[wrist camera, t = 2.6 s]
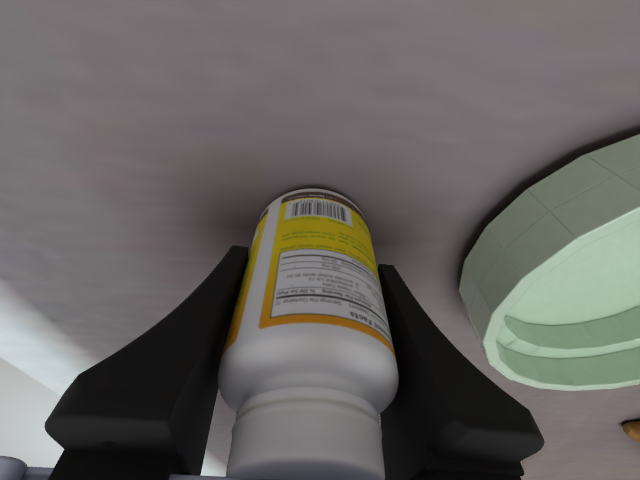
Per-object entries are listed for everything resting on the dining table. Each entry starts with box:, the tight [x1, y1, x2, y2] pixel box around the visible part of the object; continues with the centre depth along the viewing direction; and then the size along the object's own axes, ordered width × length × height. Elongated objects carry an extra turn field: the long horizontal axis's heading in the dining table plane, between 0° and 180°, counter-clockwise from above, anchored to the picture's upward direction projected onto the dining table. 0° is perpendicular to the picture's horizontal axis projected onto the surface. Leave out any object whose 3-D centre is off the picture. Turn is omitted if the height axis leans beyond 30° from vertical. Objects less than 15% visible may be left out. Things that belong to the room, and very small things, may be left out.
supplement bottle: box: [218, 189, 399, 480], centre depth 11 cm, size 6×6×10 cm
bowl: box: [459, 134, 640, 391], centre depth 15 cm, size 14×14×4 cm
